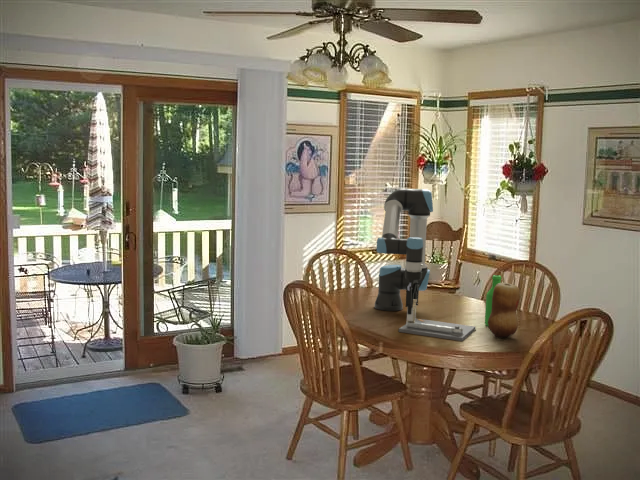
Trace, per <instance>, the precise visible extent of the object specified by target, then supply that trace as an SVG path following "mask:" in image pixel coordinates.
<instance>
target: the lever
mask: <svg viewBox="0 0 640 480" xmlns="http://www.w3.org/2000/svg"><path fill="white" fill-rule="evenodd" d="M416 302H417V299H413V321H407V320H406V322H405V324H406V326H408V327H415V328H422V329H429V330H436V331H443V332H450V333H453V334H463V329H462V328H460V326H455V327H447V326H440V325H433V324H425V323H418V322H415V311H416V312H417V305H416Z"/></svg>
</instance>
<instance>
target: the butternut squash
mask: <svg viewBox="0 0 640 480" xmlns="http://www.w3.org/2000/svg"><path fill="white" fill-rule="evenodd" d="M520 296H521V293H520V288H519V286H518V285H516V284H511V283H507V282H501V283H498V284H497V285H496V286H495V288H494V291H493V296H492V311H491V314H490V316H489V319H488V326H487V327H488V329H489V331H490V332H491V334H493V335H494V336H495V337H496V338H501V339H502V338H509V337H511V336H512V335H514V334H515V333H517V330H518V327H519V321H518V315H517V310H518V307H519V302H520Z"/></svg>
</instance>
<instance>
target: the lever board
mask: <svg viewBox="0 0 640 480" xmlns="http://www.w3.org/2000/svg"><path fill="white" fill-rule="evenodd" d="M415 322H418V323H425V324H433V325H440V326H447V327H455V326H460V328H462V329H463V334H453V333H450V332H443V331H436V330H429V329H422V328H415V327H408V326H406V323H405V324H404V325H401V327H398V332H399V333H406V334H411V335H412V334H413V335H418V336H425V337H432V338H440V339H445V340H452V341H458V342H463V341H464V340H465V339H467V338H468V337H469V336H471V334H473V332H474V331H476V326H475V325H474V326H473V325H466V324H460V323H459V324H458V323H452V322H445V321H438V320H430V319H423V318H417V317H416V319H415Z"/></svg>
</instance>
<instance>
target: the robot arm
mask: <svg viewBox="0 0 640 480" xmlns="http://www.w3.org/2000/svg"><path fill="white" fill-rule="evenodd" d="M433 203H434V201H433V194H432V191H431V190H430V189H424V188H399V189H395V190H394V191H393V192H391V193H390V194H389V195H388V196H387V198H386V200H385V201H384V206H383V210H384V212H385V213H384V220H383V227H382V232H381V233H382V235H381V237H378V238H377V240H376V252H377V253H378V254H385V255H404V256H406V260H405V265H404V267H403V266H402V265H401V264H387V265H383V266H380V268H379V272H378V289H377V290H378V291H377V292H378V293H377V296H376V298H375V302H374V305H373V306H374V309H376V310H379V311H386V312H397V311H402V310H403V309H404V308H403V307H404V305H403V301H402V296H401V290H402V291H405V307H406V322H407V321H413V299H417V302H416V306H419V294H420V292H421V291H422V292H424V291H426V290H427V288H428V284H429V279H430V275H431V273H430V272H431V270H430V269H429V268H428V265H427V264H426V263H425V262H426V247H427V246H426V245H427V242H426V241H427V228H428V227H427V226H428V218H429V217H430V216H431V213H433V212H434V206H433V205H434V204H433ZM403 211H406V212H407V215H408V216H409V218H410V222H409V223H410V225H409V237H407V238H398V236H399V235H398V234H399V227H400V217H401V213H402V212H403ZM416 318H417V310H416V311H415V319H416Z"/></svg>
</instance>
